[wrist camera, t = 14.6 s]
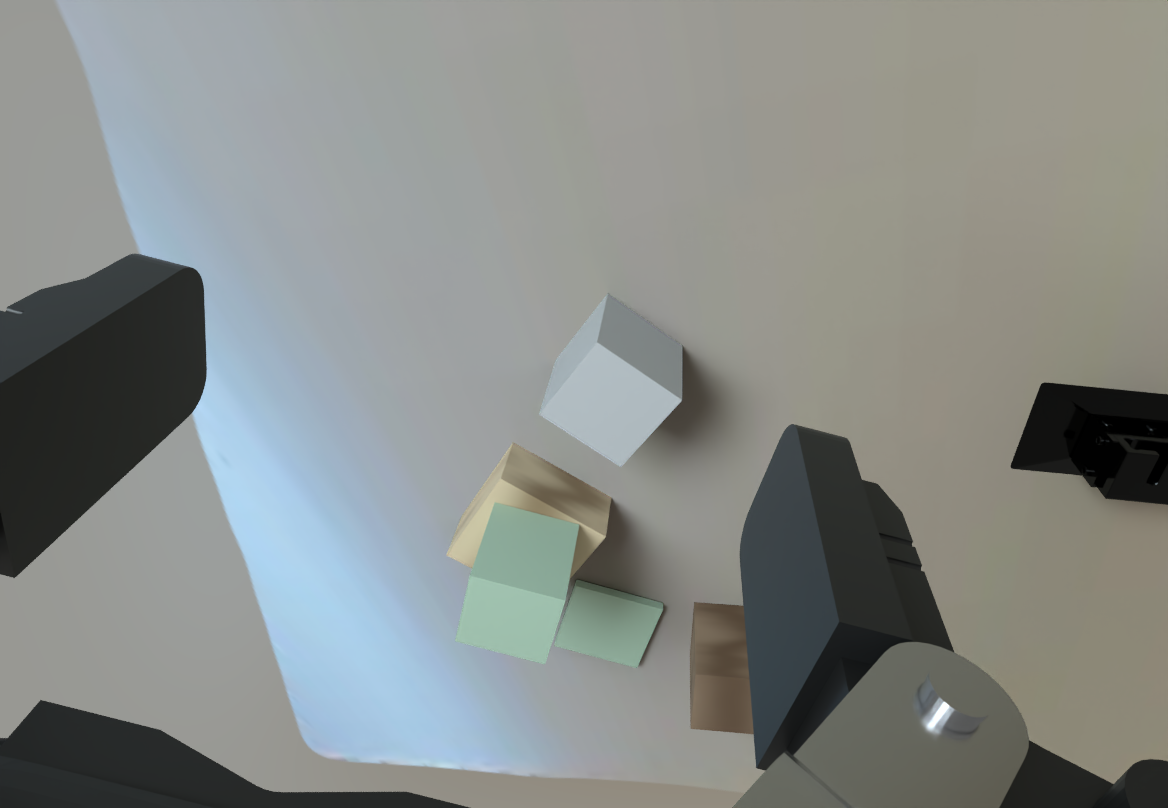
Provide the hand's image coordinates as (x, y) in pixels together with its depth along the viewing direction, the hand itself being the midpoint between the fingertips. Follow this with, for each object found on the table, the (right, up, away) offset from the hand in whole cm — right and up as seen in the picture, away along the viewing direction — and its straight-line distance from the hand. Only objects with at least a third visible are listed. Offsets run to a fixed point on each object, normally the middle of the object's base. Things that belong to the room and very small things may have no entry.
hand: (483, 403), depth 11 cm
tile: (+3, -15, +43) cm, 45 cm away
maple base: (-2, -6, +39) cm, 39 cm away
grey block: (+3, +3, +32) cm, 33 cm away
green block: (-2, -8, +35) cm, 36 cm away
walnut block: (+11, -15, +42) cm, 46 cm away
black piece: (+30, -1, +32) cm, 44 cm away
